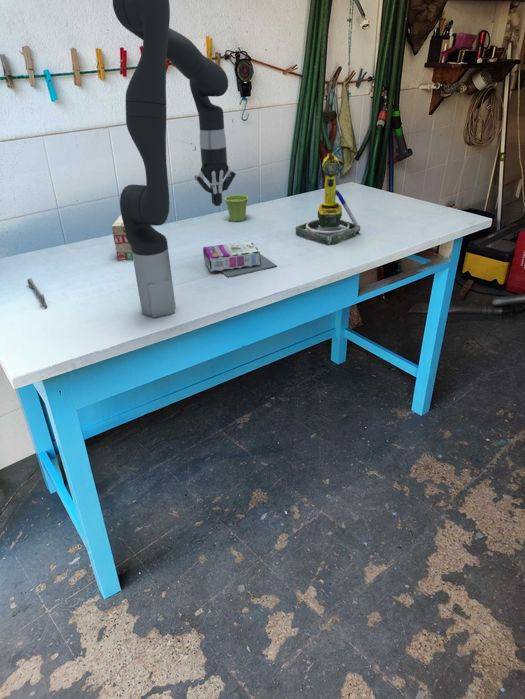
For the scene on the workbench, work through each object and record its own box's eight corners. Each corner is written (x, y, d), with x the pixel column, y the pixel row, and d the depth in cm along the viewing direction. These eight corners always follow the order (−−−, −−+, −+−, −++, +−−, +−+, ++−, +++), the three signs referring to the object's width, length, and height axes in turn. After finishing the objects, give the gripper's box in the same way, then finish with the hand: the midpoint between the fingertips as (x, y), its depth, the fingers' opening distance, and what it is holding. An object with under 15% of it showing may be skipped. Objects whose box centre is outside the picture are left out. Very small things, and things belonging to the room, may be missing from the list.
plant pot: (221, 219, 211) (219, 198, 206) (239, 214, 216) (237, 193, 211) (236, 224, 205) (234, 202, 200) (254, 219, 210) (253, 197, 205)
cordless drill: (290, 235, 192) (290, 156, 177) (325, 223, 202) (327, 148, 188) (329, 247, 180) (332, 164, 165) (363, 234, 191) (369, 154, 176)
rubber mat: (276, 266, 166) (276, 265, 166) (227, 277, 160) (227, 276, 160) (249, 248, 182) (249, 246, 182) (204, 257, 175) (203, 255, 175)
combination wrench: (26, 276, 158) (40, 298, 143) (30, 275, 159) (45, 296, 144) (29, 287, 160) (43, 310, 145) (33, 286, 161) (48, 309, 146)
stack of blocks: (132, 239, 194) (126, 206, 187) (149, 239, 193) (144, 206, 187) (117, 261, 175) (111, 225, 169) (136, 260, 175) (130, 224, 169)
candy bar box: (210, 273, 162) (261, 266, 166) (208, 258, 160) (260, 251, 163) (204, 261, 172) (252, 254, 175) (202, 246, 169) (251, 240, 172)
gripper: (196, 149, 146) (201, 211, 155) (239, 145, 151) (241, 205, 160) (187, 146, 152) (192, 205, 161) (228, 141, 157) (232, 199, 166)
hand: (217, 205), depth 161 cm, fingers closed
